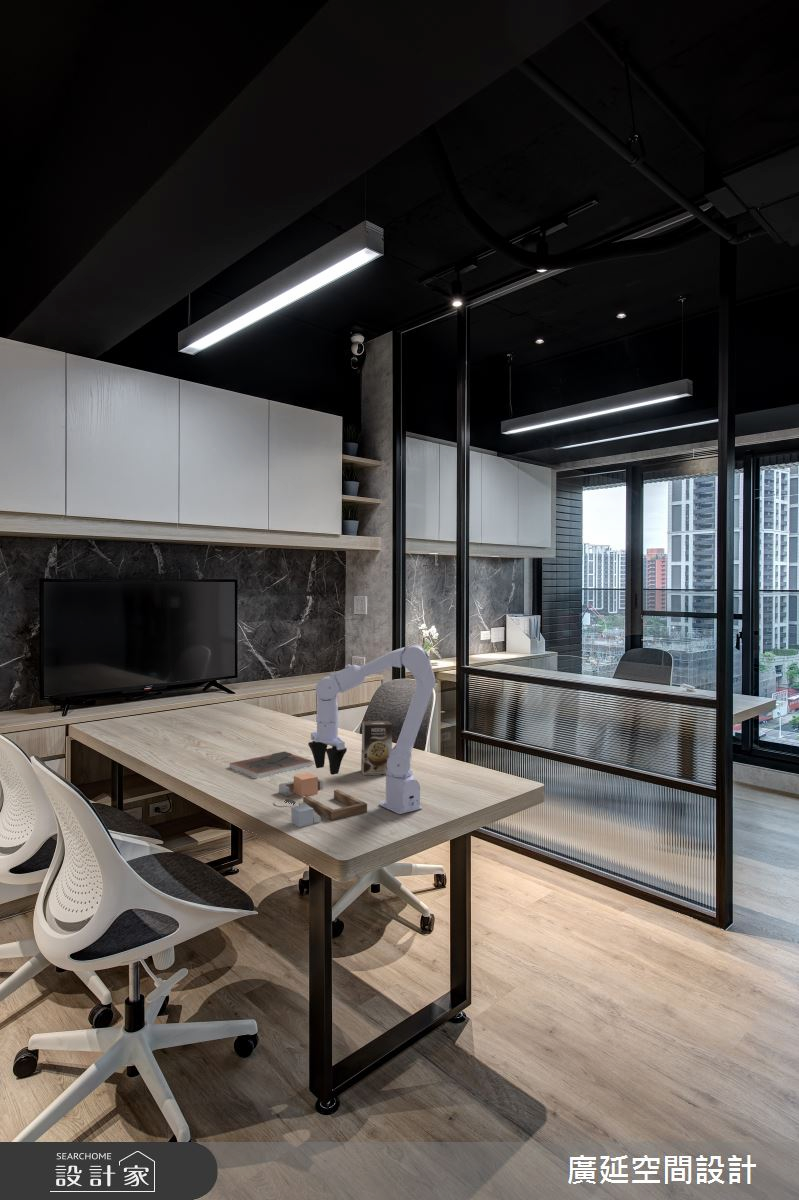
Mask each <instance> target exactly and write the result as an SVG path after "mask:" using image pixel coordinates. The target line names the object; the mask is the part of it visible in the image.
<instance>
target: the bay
mask: <svg viewBox="0 0 799 1200" xmlns="http://www.w3.org/2000/svg"><path fill="white" fill-rule="evenodd" d="M333 798H334V799H335V800H337V801H339V802H341V803H343V804H345V805H347V806H344V807H339V808H335V809H333V808H331V807H329V806H327V805H325V804H323V803H321V802H319V801H317V800H316V799H314V798H312V797H310V796H305V797H302V803H306V804H307V805H309V806H310V807H311V808H313V810H314V811H316V813H317V812H318V813H317V814H318V815H319V814H320V815H321V816H322V815H323V818H326V819H328V820H330V821H336V820H340V819H344V818H348V817H353V816H356V815H360V814H364V813H365V814H366V813H367V812H368V803H366V802H365V801H362V800H361V799H358V798H356V797H354V796H352V795H350V794H347V793H346V792H344V791H342V790H339V789H335V790H334V789H333Z"/></svg>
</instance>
